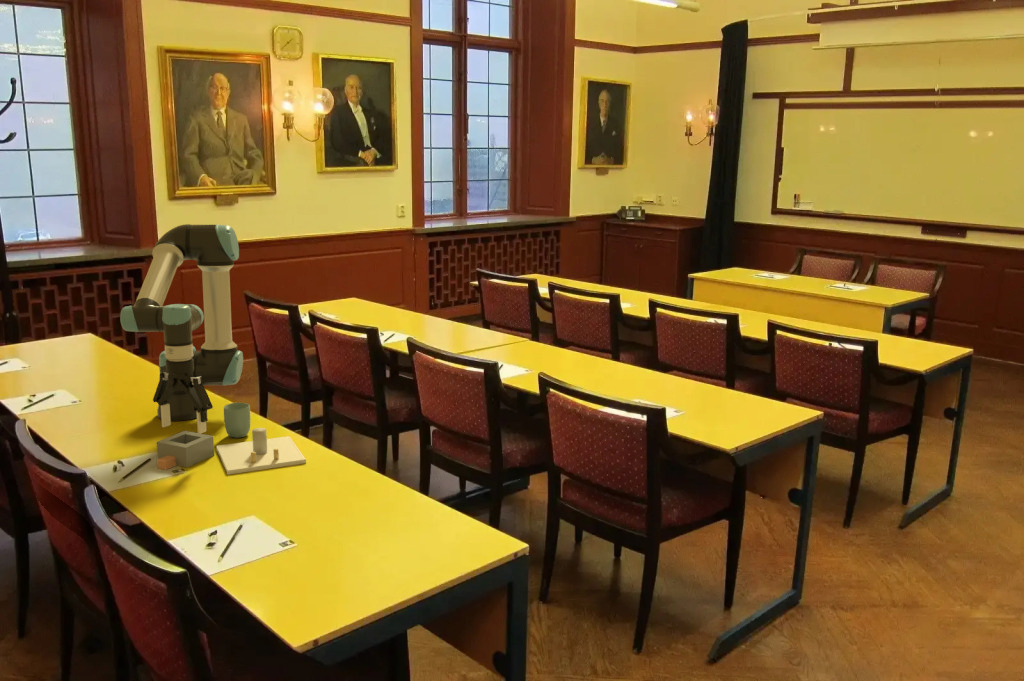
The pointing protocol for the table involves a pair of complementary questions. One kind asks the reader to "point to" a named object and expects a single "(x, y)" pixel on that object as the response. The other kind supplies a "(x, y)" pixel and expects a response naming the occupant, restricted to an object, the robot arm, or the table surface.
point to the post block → (259, 453)
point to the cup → (237, 419)
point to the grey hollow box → (184, 449)
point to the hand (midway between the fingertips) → (184, 429)
